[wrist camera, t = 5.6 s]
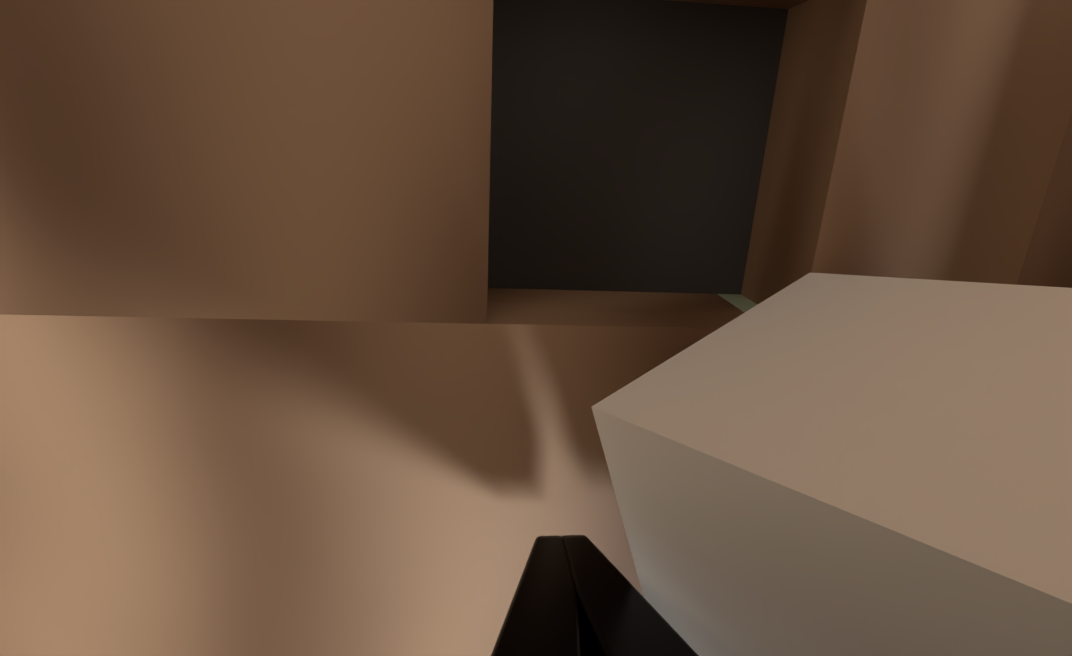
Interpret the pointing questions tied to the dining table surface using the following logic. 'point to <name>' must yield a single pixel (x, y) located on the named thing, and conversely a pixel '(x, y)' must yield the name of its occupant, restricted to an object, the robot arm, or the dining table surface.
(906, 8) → the trap board
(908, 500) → the block
